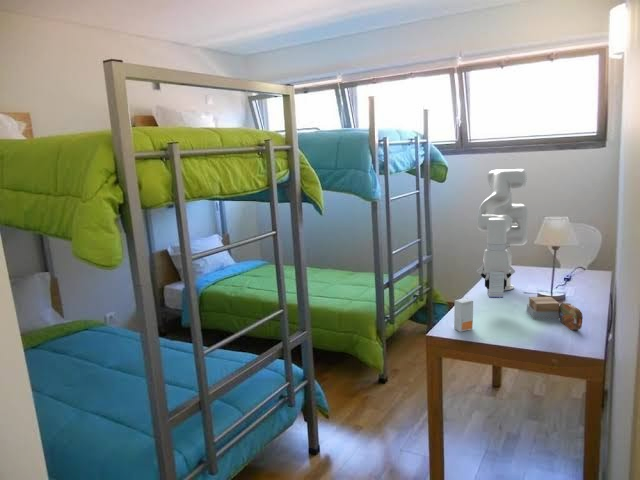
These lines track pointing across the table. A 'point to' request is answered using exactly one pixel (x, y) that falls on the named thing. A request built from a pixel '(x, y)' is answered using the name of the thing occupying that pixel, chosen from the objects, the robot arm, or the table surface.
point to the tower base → (541, 314)
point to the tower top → (544, 304)
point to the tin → (570, 316)
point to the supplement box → (496, 285)
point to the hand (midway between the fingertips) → (495, 287)
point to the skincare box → (463, 314)
